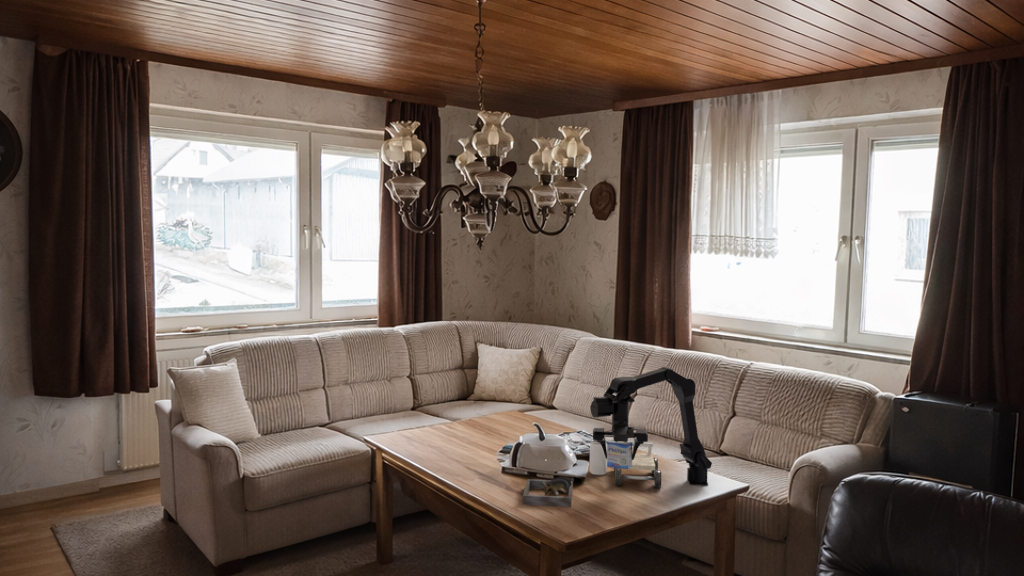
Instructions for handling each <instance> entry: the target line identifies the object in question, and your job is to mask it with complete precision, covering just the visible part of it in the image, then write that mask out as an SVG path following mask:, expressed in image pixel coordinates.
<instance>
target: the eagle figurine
mask: <svg viewBox="0 0 1024 576" xmlns="http://www.w3.org/2000/svg"><path fill="white" fill-rule="evenodd" d="M542 480H543V481H542V482H543V484H544V485H543V486H544V487H545V489H544V488H543V489H542V490H543V491H544V496H548V494H550V492H552V493H553V494H555V495H556V496H559V492H562V493H564V494H567V495H569V491H567V490H564V489H563V488H569V487H570V486H571V485H572V483H571V481H572V480H570V479H569V478H567V477H565V476H561V477H556V478H555V477H554V478H552V479H550V480H551V482H550V483H548V482H547V481H546V480H547V479H542ZM558 491H559V492H558Z"/></svg>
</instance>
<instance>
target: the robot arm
mask: <svg viewBox="0 0 1024 576" xmlns="http://www.w3.org/2000/svg"><path fill="white" fill-rule="evenodd" d="M665 381H666V382H667V383H668V384H670V385H671V388H672V391H673V394H674V396H675V398H676V400H678V404H679V412H680V417H681V422H682V423H681V424H682V430H683V437H684V440H683V442H681V443H679V448H680V455H682V457H683V459H684V460H685V462H686V463H687V464H688V467H687V468H686V480H687V482H688V483H689V485H699V486H709V482H708V472H709V471H708V469H709V470H710V469H711V467H712V466H713V463H712V461H711V460H710V459H709V458H708V457H707V454H706V450H705V448H704V446H703V444H702V442H701V441H700V439H699V432H698V427H697V421H696V420H697V419H696V413H695V408H694V407H695V406H694V398H695V397H696V389H697V388H696V383H695V382H696V381H694V380H693V379H691V378H688V377H686V376H683V375H681V374H679V373H677V372H676V371H674V369H672V368H669V367H667V366H662V367H660V368H657V369H655V370H651V371H647V372H644V373H640V374H638V375H634V376H621V377H614V378H613V379H612V380H611V382H610V384H609V386H608V388H607V389H606V391H605V392H604V394H603V396H600V397H599V396H595V397H593V400H592V401H591V403H590V406H589V408H590V409H589V410H590V414H591V415H592V417H593V418H604V417H605V418H606V417H611V431H610V430H609V431H605V428H603V427H593V428H592V440H597V442H600V444H601V446H602V448H603V451H604V454H605V457H606V459H607V449H606V444H607V441H606V438H613V439H612V440H614V441H615V442H618V441H621V442H629V439H633V442H634V444H633V446H632V460H634V457H635V454H636V453H637V452H638V449H639V447H640V444H644V443H649V440H648V439H649V433H648V431H647V430H646V429H634V428H635V427H633V426H629V422H630V421H629V420H630V417H629V416H630V403H635V402H636V401H635V399H634V398H633V397H632V395H633V394H635V393H636V392H637V391H638V390H640V389H642V388H646V387H648V386H652V385H655V384H658V383H661V382H665Z"/></svg>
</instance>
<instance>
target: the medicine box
mask: <svg viewBox="0 0 1024 576" xmlns="http://www.w3.org/2000/svg"><path fill="white" fill-rule="evenodd" d="M632 442H633V441H627V442H621V441H618V442H615V441H614V440H613V439H610V440H608V441H606V444H607V468H613V469H614V468H622V469H623V470H630V469H629V468H630V467H631V466H632V452H633V446H632ZM622 469H621V470H622Z"/></svg>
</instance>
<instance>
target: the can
mask: <svg viewBox="0 0 1024 576" xmlns="http://www.w3.org/2000/svg"><path fill="white" fill-rule="evenodd" d="M590 442H591V443H590V445H589V473H590V474H591V475H593V476H604V475H606V474H607V472H608V466H607V459H606V457H605V454H604V451H603V448H602V446H601V444H600V442H597V440H593V439H592V440H591V441H590ZM606 449H607V443H606Z"/></svg>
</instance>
